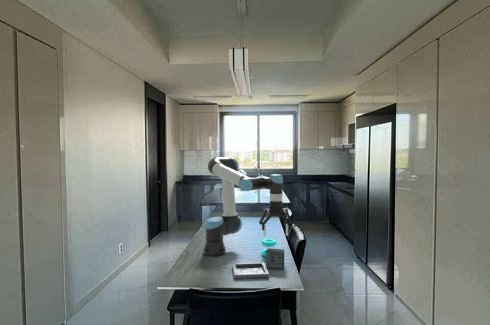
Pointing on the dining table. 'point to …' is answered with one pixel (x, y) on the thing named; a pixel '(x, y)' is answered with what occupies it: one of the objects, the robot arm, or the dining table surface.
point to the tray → (250, 270)
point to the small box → (275, 258)
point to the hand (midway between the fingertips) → (275, 235)
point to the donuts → (267, 245)
